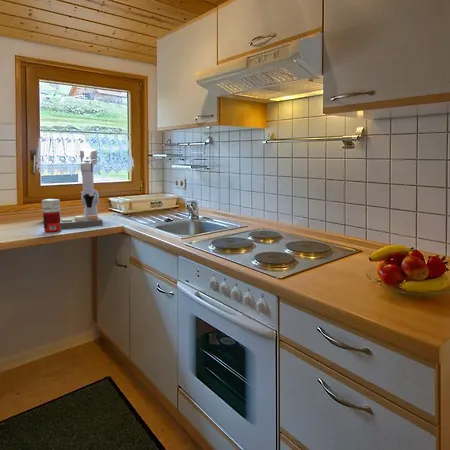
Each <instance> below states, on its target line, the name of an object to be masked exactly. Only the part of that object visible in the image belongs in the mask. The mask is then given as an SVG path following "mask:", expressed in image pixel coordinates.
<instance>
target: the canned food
mask: <svg viewBox="0 0 450 450" xmlns="http://www.w3.org/2000/svg"><path fill="white" fill-rule="evenodd" d="M60 214H61V210H60V211H59V210H56V209H53V210H44V211H42V220H44V221H43V229H44V230H43V231H44V232H45V233H47V234H48V233H49V234H51V233H52V234H53V233H59V232H61V225H60Z"/></svg>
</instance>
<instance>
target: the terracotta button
mask: <svg viewBox="0 0 450 450" xmlns="http://www.w3.org/2000/svg"><path fill="white" fill-rule="evenodd" d="M97 216H98V214H97V215H88V220H95V219H97Z"/></svg>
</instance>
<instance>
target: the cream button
mask: <svg viewBox="0 0 450 450" xmlns="http://www.w3.org/2000/svg"><path fill="white" fill-rule="evenodd" d="M74 219H75V221H82V220H85V217H84V215H75V216H74Z"/></svg>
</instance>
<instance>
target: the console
mask: <svg viewBox="0 0 450 450" xmlns="http://www.w3.org/2000/svg"><path fill="white" fill-rule="evenodd" d="M70 219H71V220H72V221H70V222H62V219H61V220H60V225H61V229H62V230H64V229H75V228H84V227H85V228H86V227H97V226H98V227H99V226H103V224H104V223H103V222H104V220H103V219H101V218H100V217H97V219H95V220H88V218H85V220H82V221H75V218H70Z"/></svg>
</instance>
